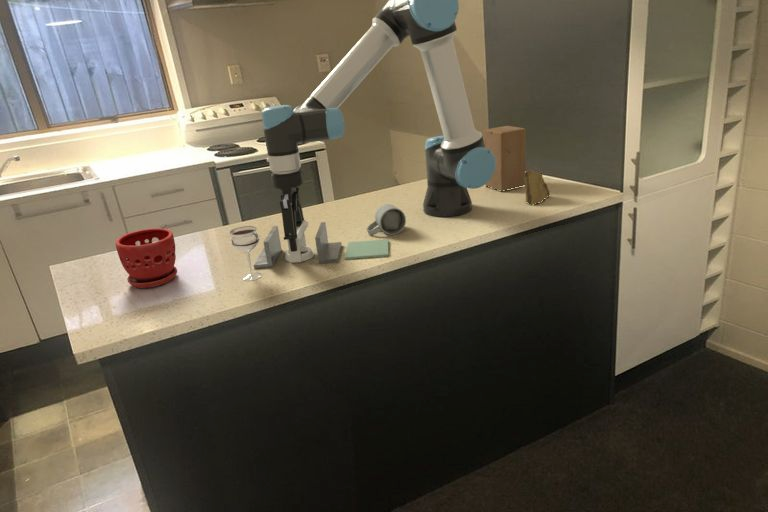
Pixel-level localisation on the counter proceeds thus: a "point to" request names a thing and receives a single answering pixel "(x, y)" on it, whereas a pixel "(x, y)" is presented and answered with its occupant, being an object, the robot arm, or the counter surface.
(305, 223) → the white curved piece
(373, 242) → the mat
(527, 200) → the rock
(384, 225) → the ceramic mug
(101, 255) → the counter surface
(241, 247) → the wineglass
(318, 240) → the dark grey bookends
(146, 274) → the plant pot
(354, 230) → the counter surface
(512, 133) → the wooden block
